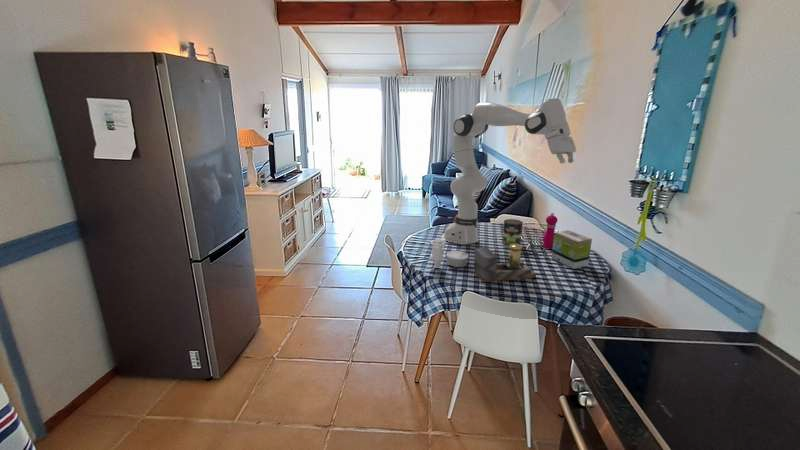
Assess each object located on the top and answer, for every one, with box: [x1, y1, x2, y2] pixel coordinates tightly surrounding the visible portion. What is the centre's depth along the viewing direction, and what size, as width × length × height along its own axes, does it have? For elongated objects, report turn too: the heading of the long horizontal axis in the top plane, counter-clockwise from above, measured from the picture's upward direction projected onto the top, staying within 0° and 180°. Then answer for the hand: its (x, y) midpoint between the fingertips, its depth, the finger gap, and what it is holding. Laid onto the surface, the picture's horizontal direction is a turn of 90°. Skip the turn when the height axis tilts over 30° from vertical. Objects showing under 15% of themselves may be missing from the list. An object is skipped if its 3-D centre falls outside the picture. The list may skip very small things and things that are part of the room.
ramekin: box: [445, 250, 470, 268], centre depth 188 cm, size 11×11×5 cm
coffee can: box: [501, 218, 524, 249], centre depth 213 cm, size 10×10×14 cm
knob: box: [505, 243, 523, 270], centre depth 174 cm, size 6×6×12 cm
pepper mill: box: [542, 212, 558, 250], centre depth 208 cm, size 7×7×20 cm
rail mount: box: [473, 247, 537, 283], centre depth 174 cm, size 26×12×12 cm, turn 99°
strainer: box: [430, 238, 446, 268], centre depth 182 cm, size 7×7×15 cm
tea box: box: [551, 229, 593, 270], centre depth 188 cm, size 15×10×15 cm, turn 23°
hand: (567, 162), depth 168 cm, fingers open, 8 cm apart
